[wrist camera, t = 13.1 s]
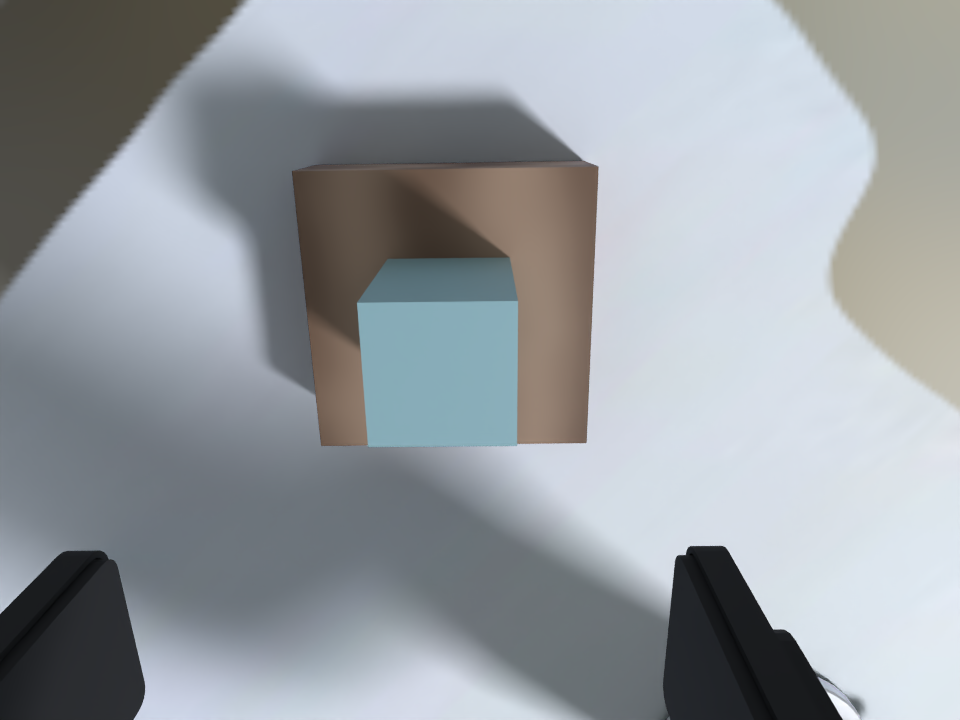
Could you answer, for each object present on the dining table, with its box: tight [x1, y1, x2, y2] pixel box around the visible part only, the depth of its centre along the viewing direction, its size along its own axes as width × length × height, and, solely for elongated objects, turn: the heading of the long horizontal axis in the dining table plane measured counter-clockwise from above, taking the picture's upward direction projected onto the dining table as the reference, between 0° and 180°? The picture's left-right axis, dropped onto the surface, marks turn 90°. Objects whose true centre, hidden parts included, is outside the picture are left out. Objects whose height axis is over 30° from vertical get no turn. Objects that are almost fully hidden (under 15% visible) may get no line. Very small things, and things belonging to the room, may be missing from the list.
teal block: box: [357, 257, 518, 447], centre depth 25 cm, size 5×5×7 cm
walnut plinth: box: [292, 161, 598, 446], centre depth 30 cm, size 12×12×4 cm
